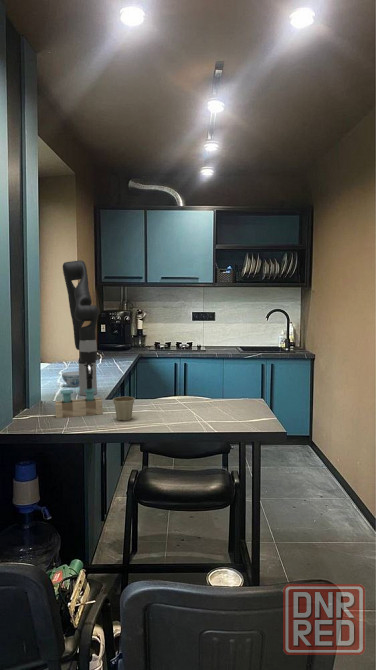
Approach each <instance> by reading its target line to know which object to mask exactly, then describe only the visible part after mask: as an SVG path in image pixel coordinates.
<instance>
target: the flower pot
mask: <svg viewBox="0 0 376 670" xmlns="http://www.w3.org/2000/svg"><path fill="white" fill-rule="evenodd" d="M135 400H136V398H135V397H132V396H119V397H114V398H112V402H113V405H114V410H115V416H116V420H118V421H129V420H131V419H132V417H133V409H134V408H133V407H134V403H135Z"/></svg>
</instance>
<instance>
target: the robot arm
mask: <svg viewBox="0 0 376 670" xmlns="http://www.w3.org/2000/svg"><path fill="white" fill-rule="evenodd" d="M62 273H63V277H64V281H65V285H66V290H67V296H68V304H69V305H68V306H69V312H70V317H71V322H72V328H73V339H74V346H75V349H76V350H77V351H79V357H78V371H79V396H86V392H84V389H92V388H94V389H96V391H95V392H93V393H94V396H95V395H97V394H98V384H97V383H98V382H97V381H98V380H97V379H98V378H97V360H98V350H97V349H98V348H97V347H98V346H97V339H96V337H97V336H96V335H97V334H96V333H97V331H96V329H97V322H98V319H99V314H100V311H99V308H98V306H97V305H94V304H92V297H91V293H90V288H89V277H88V276H89V275H88V270H87V266H86V263H85V261H84V260H81V259H79V260H71V261H65V262H64V263H63V264H62ZM79 280H80V281H79ZM73 281H79V282H78V284H76V286H75V285H74V283H73ZM85 322H89V323H88V325H85V326H83V325H84V324H85Z"/></svg>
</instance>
